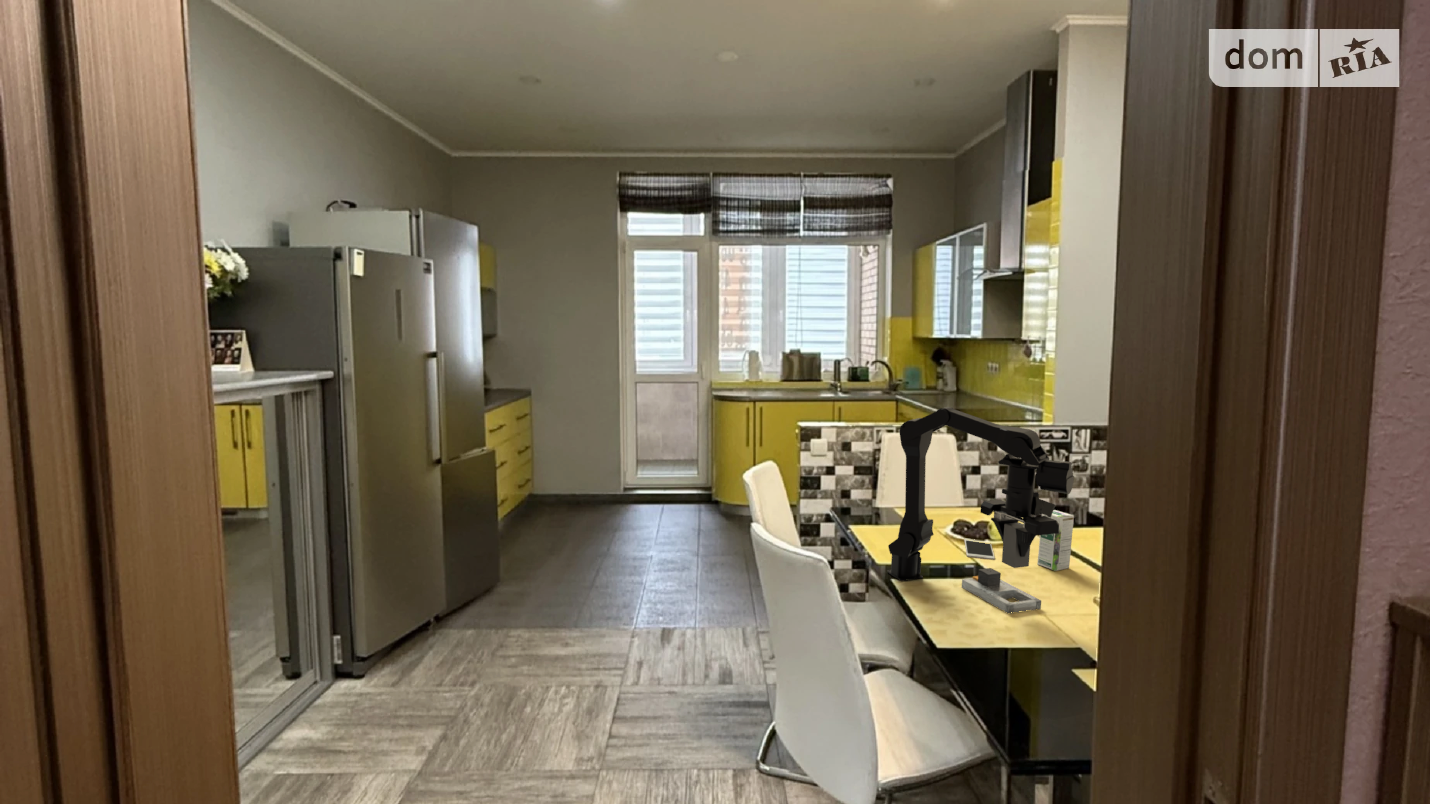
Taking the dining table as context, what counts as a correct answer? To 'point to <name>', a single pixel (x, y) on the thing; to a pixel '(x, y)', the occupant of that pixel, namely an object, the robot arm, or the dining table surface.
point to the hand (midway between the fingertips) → (1015, 553)
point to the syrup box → (1057, 543)
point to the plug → (1013, 547)
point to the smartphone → (979, 550)
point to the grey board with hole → (999, 592)
